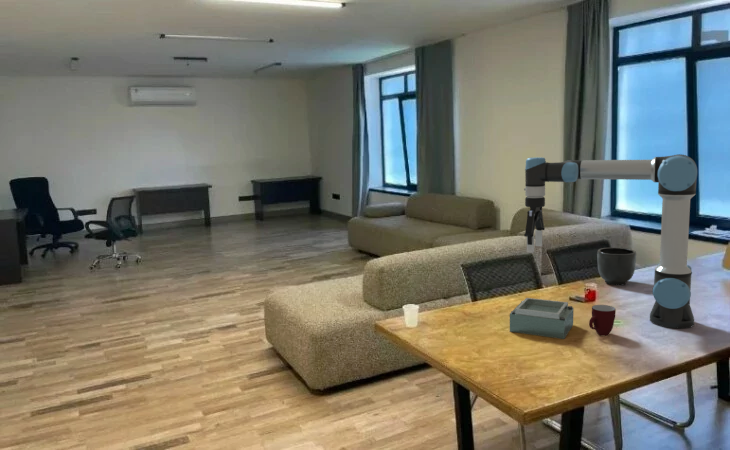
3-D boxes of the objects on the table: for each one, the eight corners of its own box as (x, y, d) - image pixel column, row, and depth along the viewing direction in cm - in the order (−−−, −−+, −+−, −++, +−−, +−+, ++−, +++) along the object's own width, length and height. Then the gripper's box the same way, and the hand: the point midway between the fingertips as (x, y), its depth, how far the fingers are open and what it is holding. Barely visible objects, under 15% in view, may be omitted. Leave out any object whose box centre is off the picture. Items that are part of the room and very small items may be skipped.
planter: (592, 278, 286) (593, 247, 284) (628, 278, 284) (629, 247, 281) (601, 287, 269) (602, 254, 267) (640, 287, 267) (641, 254, 265)
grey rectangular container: (573, 324, 221) (573, 302, 219) (564, 339, 206) (564, 315, 205) (521, 318, 231) (521, 296, 229) (509, 331, 216) (509, 308, 215)
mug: (601, 341, 203) (602, 314, 201) (582, 334, 210) (582, 308, 208) (619, 334, 209) (620, 308, 207) (600, 328, 215) (600, 303, 214)
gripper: (533, 193, 238) (533, 242, 241) (516, 200, 216) (516, 254, 220) (551, 193, 234) (551, 244, 237) (536, 200, 213) (536, 256, 216)
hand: (534, 249), depth 228 cm, fingers open, 13 cm apart
